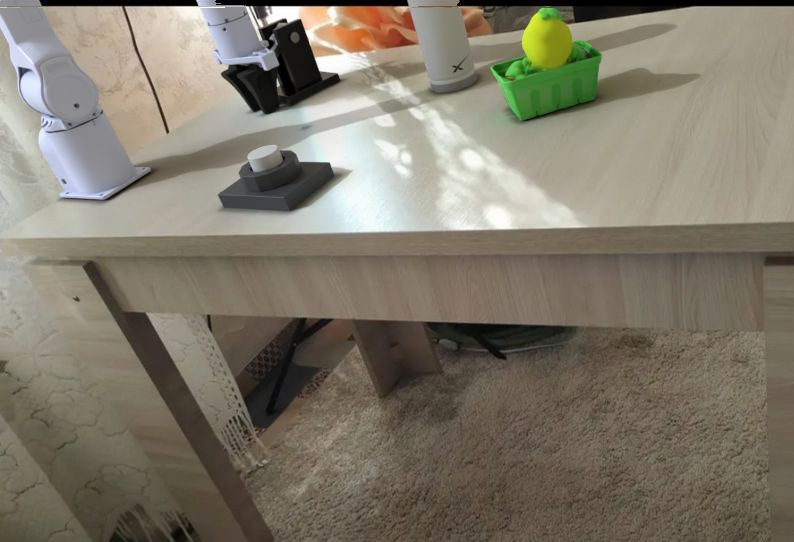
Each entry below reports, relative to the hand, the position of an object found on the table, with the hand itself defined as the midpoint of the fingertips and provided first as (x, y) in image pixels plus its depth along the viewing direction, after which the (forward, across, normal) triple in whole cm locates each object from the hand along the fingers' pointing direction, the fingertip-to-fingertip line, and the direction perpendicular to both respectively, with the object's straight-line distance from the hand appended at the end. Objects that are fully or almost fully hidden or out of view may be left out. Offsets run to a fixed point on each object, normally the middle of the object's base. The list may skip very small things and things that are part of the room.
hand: (268, 114), depth 112 cm
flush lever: (-5, 0, -4) cm, 7 cm away
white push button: (-4, -29, +16) cm, 33 cm away
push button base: (-1, -29, +16) cm, 33 cm away
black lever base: (-1, 0, -7) cm, 7 cm away
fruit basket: (0, -45, -12) cm, 47 cm away
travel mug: (0, -26, -15) cm, 30 cm away
